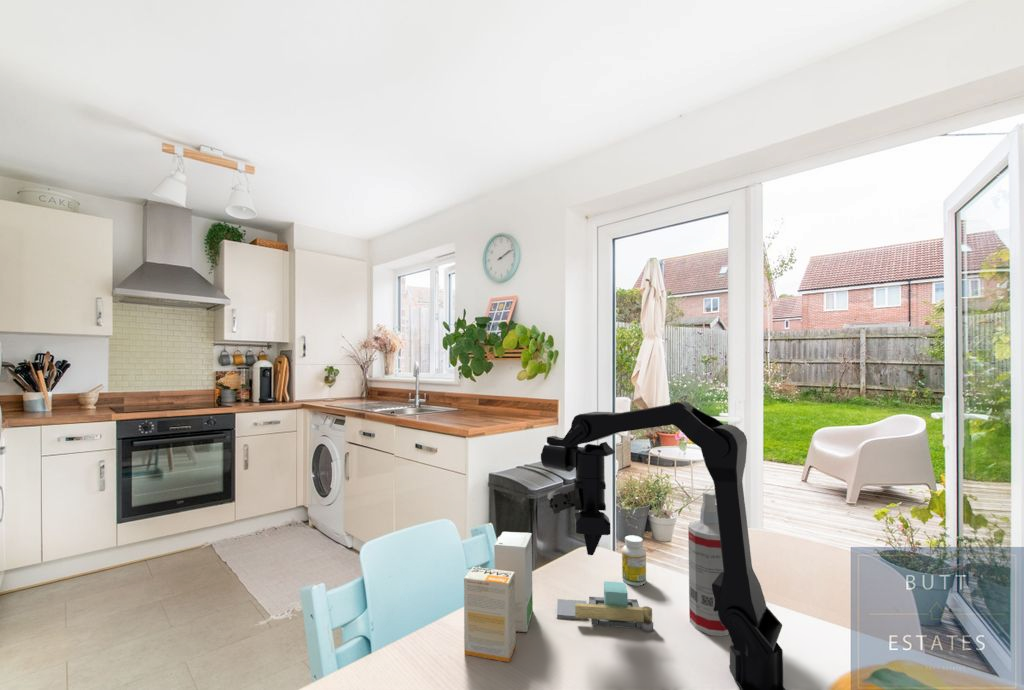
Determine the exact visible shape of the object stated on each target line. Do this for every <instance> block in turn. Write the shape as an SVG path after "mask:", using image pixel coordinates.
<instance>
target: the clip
mask: <svg viewBox="0 0 1024 690" xmlns="http://www.w3.org/2000/svg"><path fill="white" fill-rule="evenodd" d="M575 618H588V619H590V620H591V619H598V620H599V619H605V620H620V621H634V622H635V623H636V622H644V623H647V624H650V623H652V622H653V609H652V607H650V606H647V605H645V606H642V607H641V606H639V607H630V606H614V605H599V604H589V603H587V604H583V603H575Z"/></svg>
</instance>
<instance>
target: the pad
mask: <svg viewBox="0 0 1024 690" xmlns="http://www.w3.org/2000/svg"><path fill="white" fill-rule="evenodd" d="M575 603H583V604H588V603H587V600H580V599H566V598H565V599H563V598H561V599H560V598H557V604H556V606H557V609H556V612H557V613H556V618H557V619H567V620H569V619H570V620H581V621H582V620H584V621H588V620H589V618H575Z"/></svg>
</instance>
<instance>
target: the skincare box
mask: <svg viewBox="0 0 1024 690" xmlns="http://www.w3.org/2000/svg"><path fill="white" fill-rule="evenodd" d="M532 535H533V533H532V532H519V531H517V532H516V531H502V532H501V534H500V535H499V536H498V537H497V540H496V542H494V543H495V544H494V545H493V547H494V548H493V549H494V551H493V552H494V553H493V554H494V555H493V556H494V559H493V560H494V561H493V562H494V565H493V566H494V569H495V570H503V571H512V572H515V632H519V633H527V631H528V628H529V624H530V621H531V619H532V618H531V617H532V615H533V608H534V607H533V604H534V603H533V602H534V601H533V598H534V597H533V545H532V543H533V542H532Z"/></svg>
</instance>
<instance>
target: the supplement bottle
mask: <svg viewBox="0 0 1024 690" xmlns="http://www.w3.org/2000/svg"><path fill="white" fill-rule="evenodd" d="M643 542H644V540H643V538H642V537H640V536H638V535H633V534H631V535H627V536H625V537H624V543H625V545H624V546H622V549H621V558H622V559H621V560H622V562H621V565H622V566H621V570H622V571H621V575H622V580H623V582H624V583H625V584H627V585H630V586H636V587H637V586H638V587H639V586H640V585H641V586H644V585H645V584H646V583H647V551H646V549H645V548H644V547H643V546H644V543H643ZM643 584H644V585H643Z"/></svg>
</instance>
